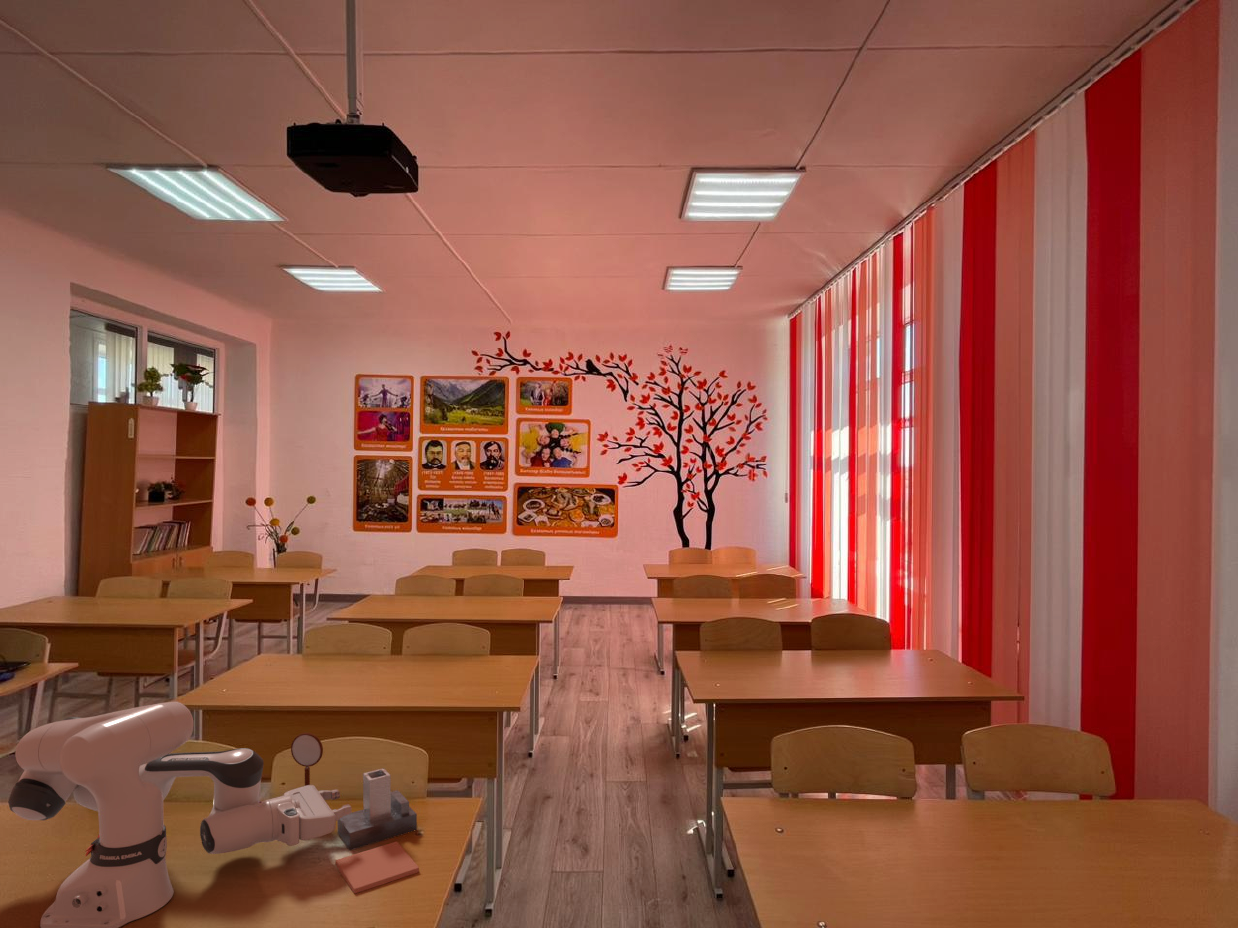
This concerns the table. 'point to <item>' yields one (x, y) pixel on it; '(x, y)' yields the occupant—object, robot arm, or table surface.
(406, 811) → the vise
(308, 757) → the magnifying glass
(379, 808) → the steel sleeve
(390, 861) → the terracotta mat
